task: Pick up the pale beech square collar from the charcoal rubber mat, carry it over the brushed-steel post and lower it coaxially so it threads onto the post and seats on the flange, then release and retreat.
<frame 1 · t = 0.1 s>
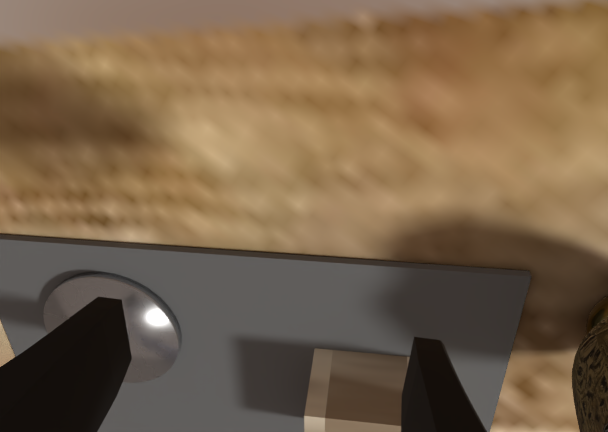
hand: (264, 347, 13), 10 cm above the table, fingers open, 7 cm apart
post: (115, 326, 27), resting on mat
mat: (245, 373, 28), on the table
collar: (366, 390, 27), resting on mat
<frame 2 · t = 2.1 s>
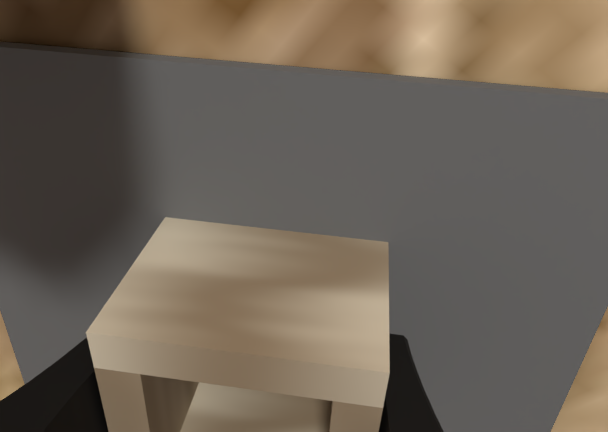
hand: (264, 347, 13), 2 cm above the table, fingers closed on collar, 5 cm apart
collar: (272, 314, 14), resting on mat, touching gripper
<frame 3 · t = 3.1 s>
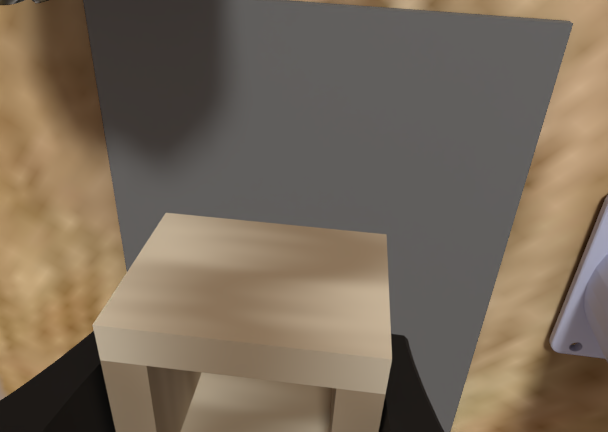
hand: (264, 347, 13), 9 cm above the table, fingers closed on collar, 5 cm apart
mat: (301, 304, 24), on the table
collar: (272, 308, 14), point 8 cm above the table, touching gripper
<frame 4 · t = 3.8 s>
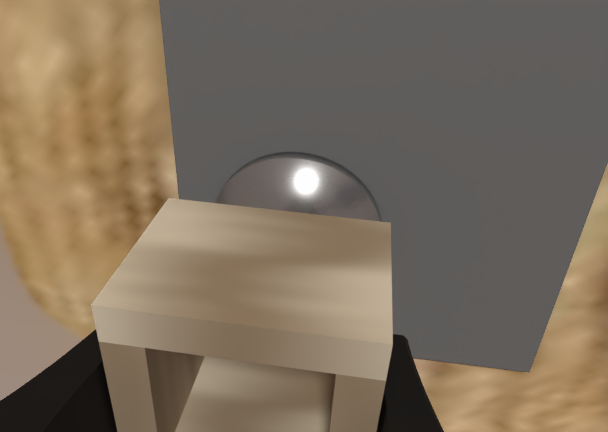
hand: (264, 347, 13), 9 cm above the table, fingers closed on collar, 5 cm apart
post: (297, 229, 22), resting on mat
mat: (388, 77, 19), on the table
collar: (275, 297, 14), point 8 cm above the table, touching gripper
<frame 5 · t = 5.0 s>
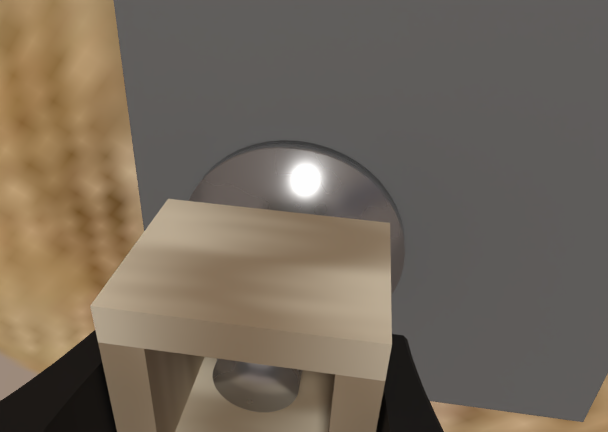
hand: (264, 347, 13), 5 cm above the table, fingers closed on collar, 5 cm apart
post: (293, 241, 17), resting on mat
mat: (419, 38, 14), on the table
collar: (274, 297, 14), point 4 cm above the table, touching gripper
when the fingers open (4 cm above the table, at t = 5.9 s): collar drops 1 cm, resting on post.
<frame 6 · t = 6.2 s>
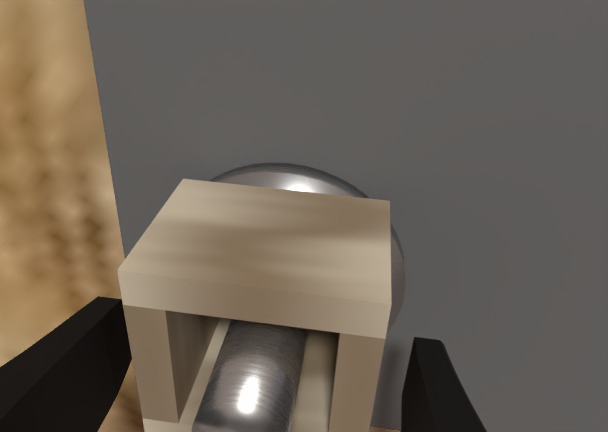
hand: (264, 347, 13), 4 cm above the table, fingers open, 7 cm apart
post: (285, 269, 16), resting on mat
mat: (422, 53, 12), on the table
collar: (281, 272, 15), point 1 cm above the table, touching post
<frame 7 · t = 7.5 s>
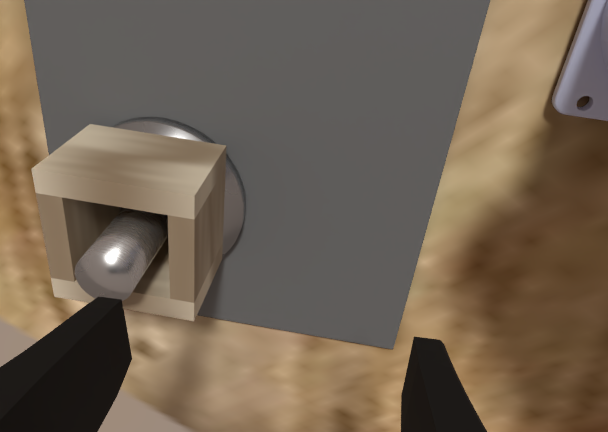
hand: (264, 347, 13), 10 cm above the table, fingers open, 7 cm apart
post: (165, 195, 22), resting on mat
mat: (244, 48, 19), on the table
collar: (160, 195, 22), point 1 cm above the table, touching post
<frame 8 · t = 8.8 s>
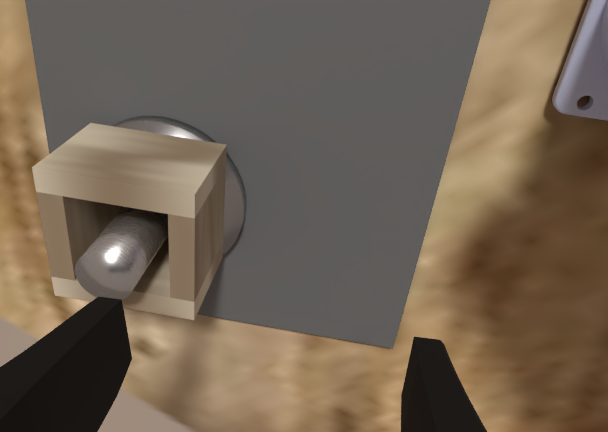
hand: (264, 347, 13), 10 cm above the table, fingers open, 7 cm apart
post: (165, 194, 22), resting on mat
mat: (245, 47, 19), on the table
collar: (160, 194, 22), point 1 cm above the table, touching post
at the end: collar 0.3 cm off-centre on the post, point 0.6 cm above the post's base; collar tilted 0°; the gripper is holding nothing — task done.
